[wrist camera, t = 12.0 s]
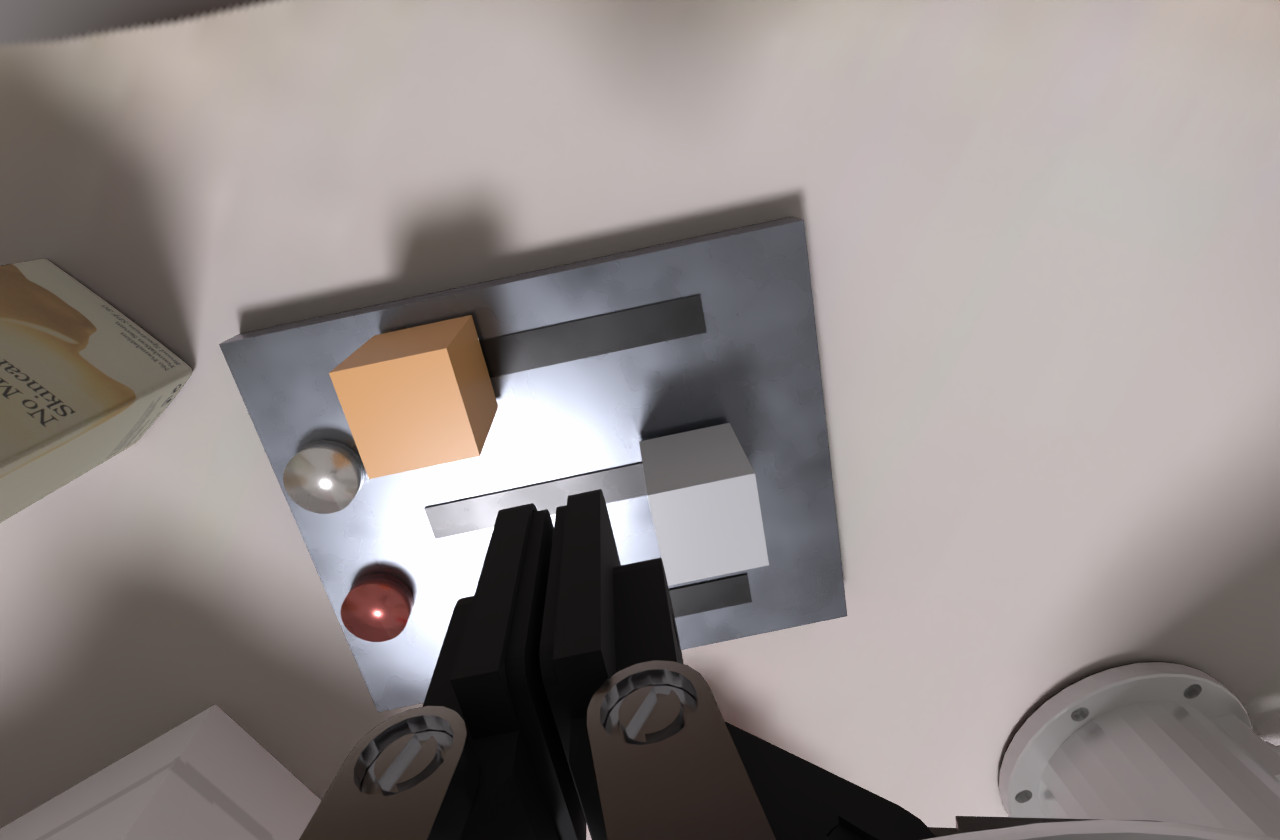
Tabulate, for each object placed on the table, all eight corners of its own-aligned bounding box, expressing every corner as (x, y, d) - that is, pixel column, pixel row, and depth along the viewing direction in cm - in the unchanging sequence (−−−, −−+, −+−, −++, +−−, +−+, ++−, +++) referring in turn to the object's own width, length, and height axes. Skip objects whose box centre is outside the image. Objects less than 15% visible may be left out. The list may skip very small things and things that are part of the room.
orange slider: (471, 314, 25) (446, 348, 20) (498, 406, 26) (480, 456, 22) (373, 335, 25) (329, 373, 20) (405, 426, 26) (369, 479, 22)
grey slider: (729, 422, 27) (754, 472, 22) (742, 503, 28) (769, 565, 24) (638, 441, 27) (647, 495, 22) (656, 520, 28) (667, 586, 24)
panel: (792, 216, 26) (812, 223, 24) (836, 595, 32) (855, 630, 30) (239, 334, 26) (204, 351, 24) (387, 687, 32) (371, 729, 30)
